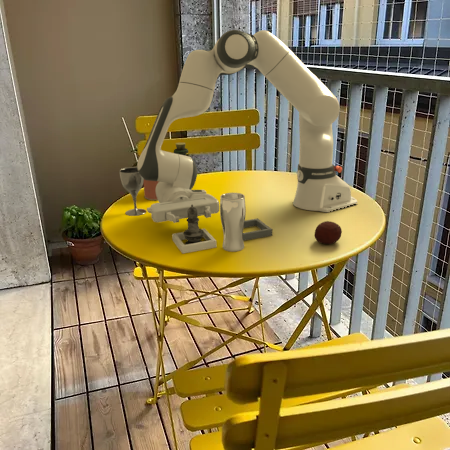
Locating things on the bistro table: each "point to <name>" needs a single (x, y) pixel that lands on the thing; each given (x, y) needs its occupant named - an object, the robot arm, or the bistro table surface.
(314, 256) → the bistro table surface
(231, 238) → the beer glass
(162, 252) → the bistro table surface
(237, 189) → the bistro table surface
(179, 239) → the pale socket
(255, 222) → the dark socket
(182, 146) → the potion bottle
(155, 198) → the canned food
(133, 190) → the wine glass
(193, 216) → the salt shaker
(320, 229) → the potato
